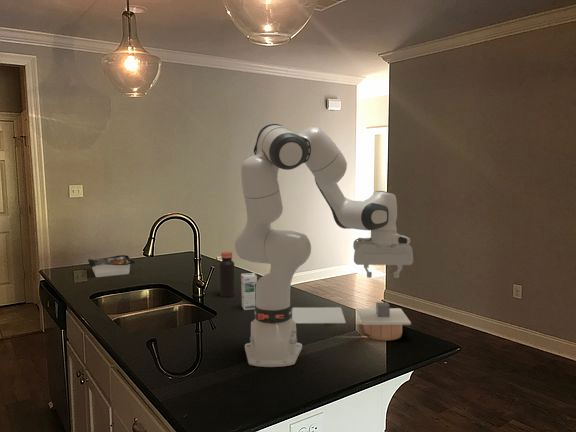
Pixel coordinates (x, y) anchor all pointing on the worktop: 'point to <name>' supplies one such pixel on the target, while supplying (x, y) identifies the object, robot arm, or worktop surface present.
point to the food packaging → (111, 266)
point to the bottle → (227, 275)
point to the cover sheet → (376, 320)
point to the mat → (318, 315)
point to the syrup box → (248, 290)
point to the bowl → (383, 332)
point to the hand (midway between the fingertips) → (382, 277)
